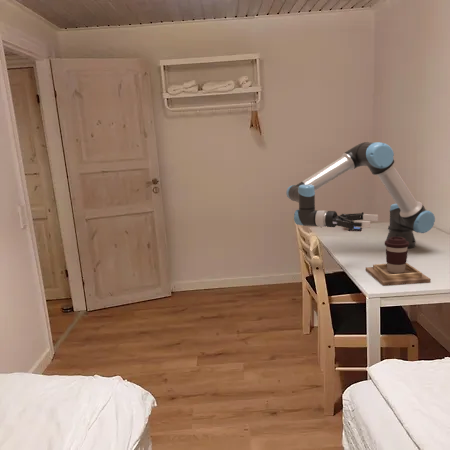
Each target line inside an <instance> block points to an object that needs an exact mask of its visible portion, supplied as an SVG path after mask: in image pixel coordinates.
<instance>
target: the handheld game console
mask: <svg viewBox="0 0 450 450" xmlns="http://www.w3.org/2000/svg"><path fill="white" fill-rule="evenodd" d="M362 229H363V228H361V227H355V226H354V229H351V228H348V231H349V232H361V231H362Z"/></svg>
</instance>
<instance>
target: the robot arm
mask: <svg viewBox="0 0 450 450" xmlns="http://www.w3.org/2000/svg"><path fill="white" fill-rule="evenodd" d="M394 156H395V153H394V150H393V148H392V146H390V145H389V144H388V143H385V142H379V141H378V142H375V141H374V142H373V141H371V142H369V141H367V142H360V143H358V144H357V145H355V146H352V147H351V148H350V149H347V151H345V152H343V153H342V155H341V156H340V157H339V158H338V159H336V160H334V161H333V162H331V163H329V164H327V166H325V167H322V168H321V169H320V170H318V171H316V172H315V173H313V174H312V175H310V176H309V177H307V178H306V179H304V180H302V181H300V182H299V183H297V184H292V185H289V186H288V187H287V189H286V197H287V198H288V200H289V199H290V201H293V202H296V203H298V209H296V210H295V211H294V215H293V220H294V223H295V224H296V225H298V226H303V227H320V228H323V227H324V228H325V227H327V228H336V226H337V227H342V228H347V229H349V228H351V229H354V226H355V227H361V228H362V229H364V228H365V229H370V228H371V222H372V221H373V222H378V221H379V214H367V213H364V212H359V213H341V214H339V215H338V213H337V211H336V210H320V209H319V210H316V196H315V195H316V194H315V193H316V191H317V190H319V189H321V188H322V187H324V186H325V185H327V184H328V183H330V182H332V181H333V180H335V179H336V178H338V177H340V176H342V175H343V174H344V173H347V172H348V171H349V170H350V171H351V170H352V171H353V170H355V169H357V168H358V167H367V168H368V170H369V171H370V172H371V174H372V175H374V176H377V177H378V178H379V180H380V181H381V183H382V184H383V185H384V187H385V189H386V190H387V192H388V193H389V195H390V197H391V198H392V200H393V201H394V203H393V204H390V206H389V225H390V230H389V229H388V230H389V231H388V234H387V236H386V239H385V241H386V240H388V239H389V238H390V237H403V238H405V239H406V241H408V242H409V247H407V249H412V248H415V247H416V246H417V245H416V244H417V241H416V238H415V234H414V232H415V233H419V234H424V233H425V234H426V233H428V232H429V231H431V230H432V229H433V227H434V225H435V221H436V217H435V214H434V213H433V212H432V211H430V210H427V209H426V207H425V206H424V204H423V203H422V202H421V201H419V200H416V198H415V196H414V195H413V193H412V192H411V190H410V189H409V187H408V185H407V184H406V182H405V181H404V180H403V178H402V177H401V175H400V173H399V172H398V170H397V169H396V167H395V166H394V165H395V163H396V162H395V161H396V160H395V159H394V158H395V157H394Z"/></svg>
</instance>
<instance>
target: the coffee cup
mask: <svg viewBox="0 0 450 450" xmlns="http://www.w3.org/2000/svg"><path fill="white" fill-rule="evenodd" d="M384 246H385V257H386V258H385V262H386V264H387V270H388V272H390V273H396V274H399V273H404V272H405V265H406V263H407V260H408V248H407V247H409V242H408V241H406V239H405V238H403V237H390V238H389V239H388V240H386V239H385V241H384Z"/></svg>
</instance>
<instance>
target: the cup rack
mask: <svg viewBox="0 0 450 450" xmlns="http://www.w3.org/2000/svg"><path fill="white" fill-rule="evenodd" d="M365 272H366V273H368V275H370V276H371V277H372V278H374V279H375V280H376V281H377V282H378V283H379V284H380V285H382V286H383V287H386V286H388V287H389V286H397V285H399V286H400V285H412V284H428V283H431V282H432V281H431V279H432V278H430V277H429V276H427V275H425V274H423V273H422V272H421V271H420V270H419V269H417V268H415V267H414V266H413V265H411V264H409V263H407V262H406V265H405V272H404V273H399V274H396V273H390V272H388V270H387V263H378V264H376V263H375V264H372V266H369V267H365Z"/></svg>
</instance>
